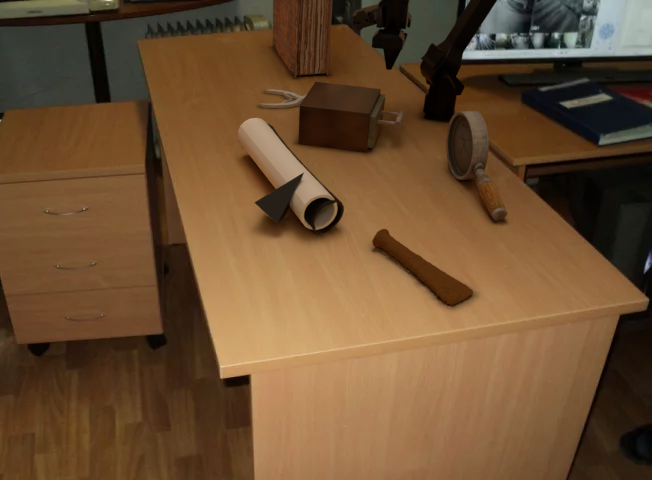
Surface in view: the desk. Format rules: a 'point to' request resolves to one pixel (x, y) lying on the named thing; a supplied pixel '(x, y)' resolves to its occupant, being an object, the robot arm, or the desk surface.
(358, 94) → the cabinet
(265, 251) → the desk surface
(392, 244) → the primitive tool
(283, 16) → the book
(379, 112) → the drawer
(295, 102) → the pliers
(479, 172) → the magnifying glass
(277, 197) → the diploma
